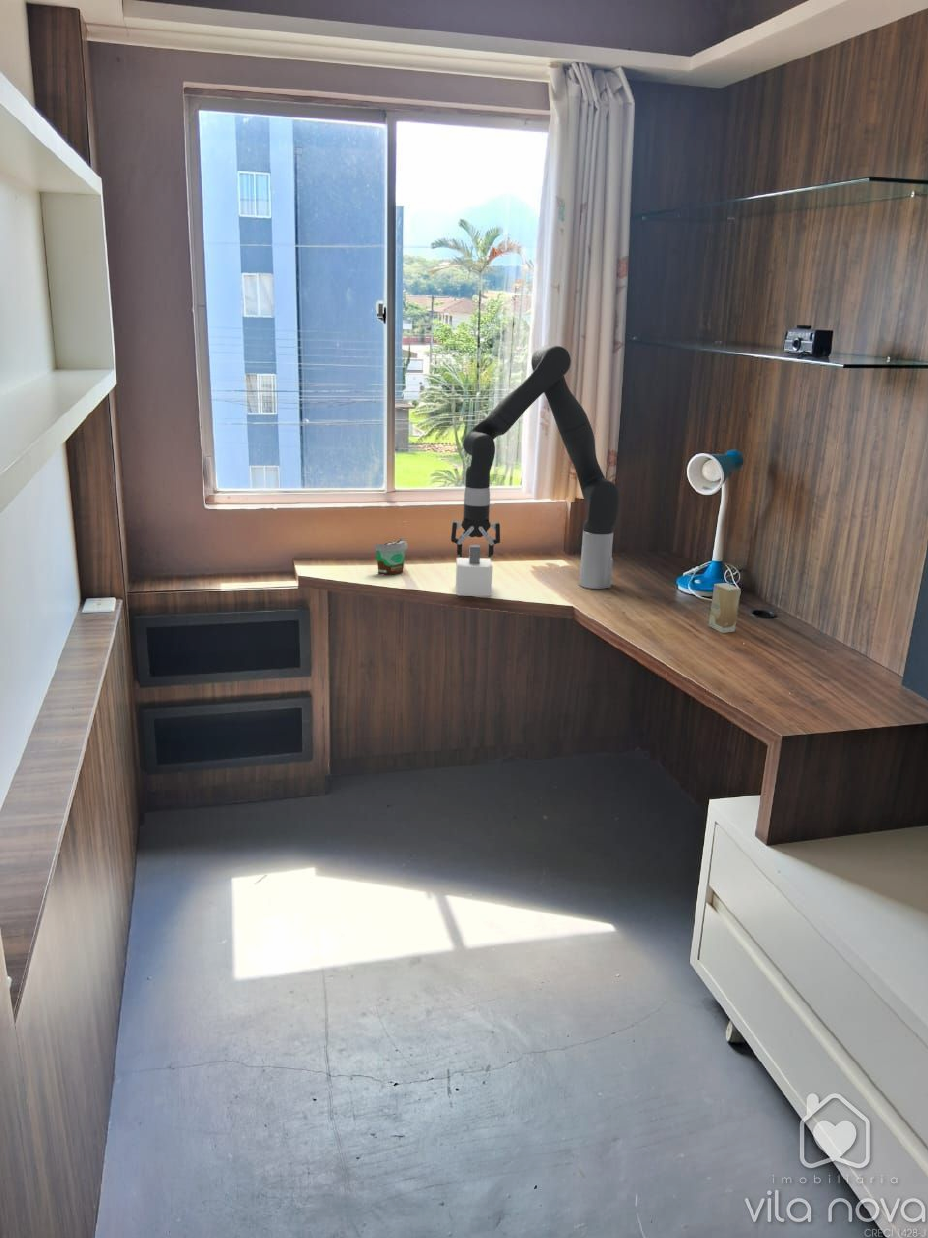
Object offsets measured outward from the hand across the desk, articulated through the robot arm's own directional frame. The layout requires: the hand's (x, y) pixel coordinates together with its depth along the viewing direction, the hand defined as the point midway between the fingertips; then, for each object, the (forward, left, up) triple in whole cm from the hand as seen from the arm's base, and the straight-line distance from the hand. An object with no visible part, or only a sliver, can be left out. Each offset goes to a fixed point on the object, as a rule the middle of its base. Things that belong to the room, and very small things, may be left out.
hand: (474, 556), depth 279 cm
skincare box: (-66, +30, -11) cm, 73 cm away
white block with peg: (0, -2, -11) cm, 11 cm away
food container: (+24, -21, -11) cm, 34 cm away
